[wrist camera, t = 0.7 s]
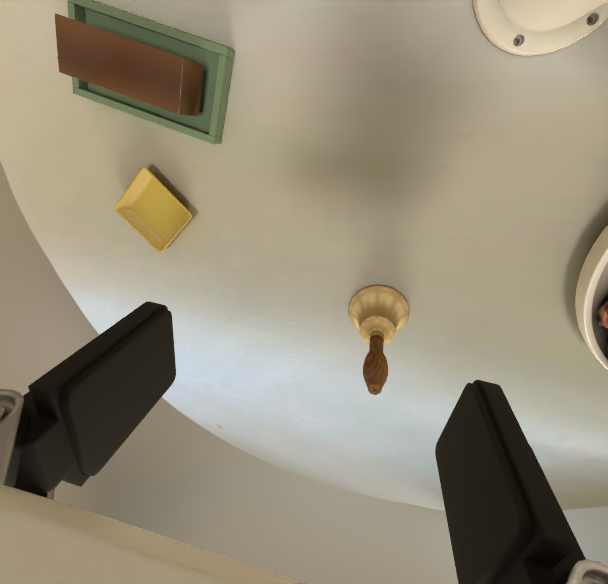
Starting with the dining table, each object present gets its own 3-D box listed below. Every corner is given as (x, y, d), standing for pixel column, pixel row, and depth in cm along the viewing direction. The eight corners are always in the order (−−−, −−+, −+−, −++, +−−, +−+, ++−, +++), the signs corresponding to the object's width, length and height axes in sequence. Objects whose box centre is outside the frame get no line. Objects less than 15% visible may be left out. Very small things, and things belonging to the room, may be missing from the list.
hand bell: (342, 326, 47) (326, 407, 33) (357, 277, 43) (347, 346, 29) (396, 342, 46) (403, 432, 33) (417, 294, 42) (435, 373, 29)
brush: (97, 28, 36) (54, 13, 31) (210, 68, 35) (183, 58, 31) (99, 79, 38) (58, 72, 34) (204, 117, 38) (178, 115, 33)
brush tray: (82, -2, 35) (66, -9, 34) (235, 51, 35) (227, 47, 33) (86, 95, 40) (72, 93, 38) (221, 143, 39) (213, 144, 37)
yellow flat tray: (200, 213, 44) (193, 216, 42) (168, 249, 48) (159, 254, 46) (153, 163, 42) (143, 164, 40) (123, 205, 46) (113, 208, 44)
